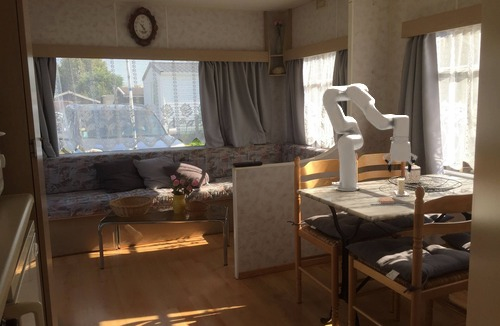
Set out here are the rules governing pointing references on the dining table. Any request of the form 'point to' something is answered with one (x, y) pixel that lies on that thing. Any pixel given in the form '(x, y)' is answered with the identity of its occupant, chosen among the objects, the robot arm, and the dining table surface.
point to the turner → (401, 188)
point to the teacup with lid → (412, 174)
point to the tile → (386, 200)
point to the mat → (387, 204)
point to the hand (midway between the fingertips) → (399, 171)
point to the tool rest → (401, 196)
